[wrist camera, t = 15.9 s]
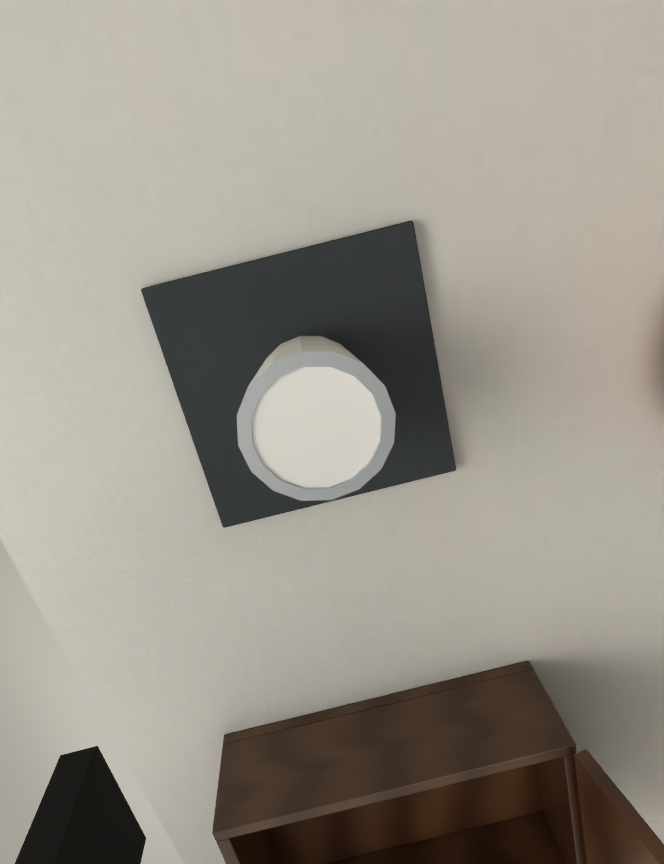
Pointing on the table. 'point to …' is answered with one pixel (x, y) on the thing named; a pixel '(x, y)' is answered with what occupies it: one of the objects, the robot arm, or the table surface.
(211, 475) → the drying mat
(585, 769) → the chest lid
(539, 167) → the table surface
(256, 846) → the chest
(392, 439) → the white grey-rimmed cylinder
